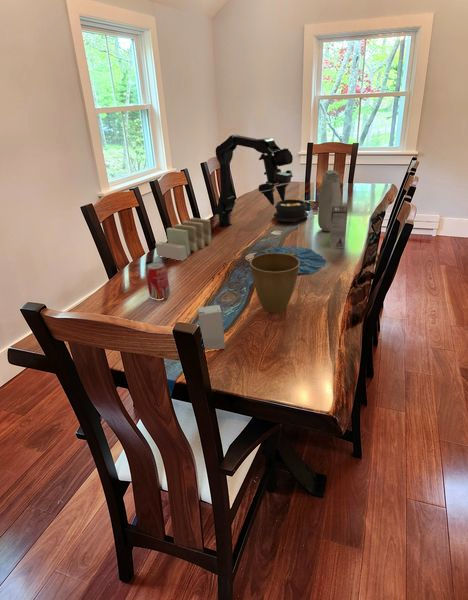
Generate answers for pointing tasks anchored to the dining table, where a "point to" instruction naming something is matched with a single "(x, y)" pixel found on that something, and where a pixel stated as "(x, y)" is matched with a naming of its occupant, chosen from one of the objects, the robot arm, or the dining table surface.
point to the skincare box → (211, 327)
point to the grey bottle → (328, 198)
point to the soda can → (157, 280)
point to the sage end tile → (179, 238)
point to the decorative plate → (300, 258)
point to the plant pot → (274, 279)
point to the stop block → (171, 250)
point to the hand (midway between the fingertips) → (278, 202)
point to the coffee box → (338, 226)
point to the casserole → (290, 210)
